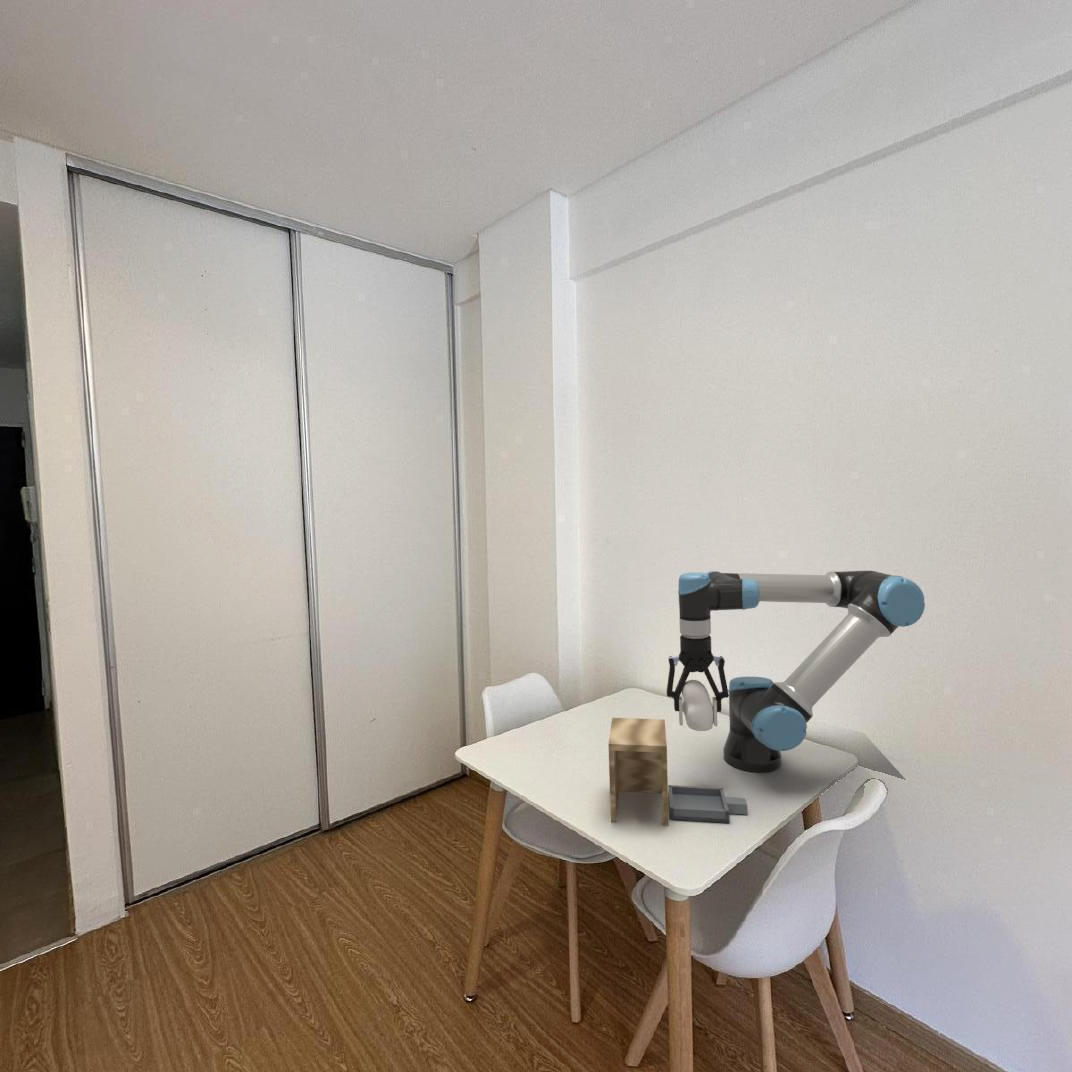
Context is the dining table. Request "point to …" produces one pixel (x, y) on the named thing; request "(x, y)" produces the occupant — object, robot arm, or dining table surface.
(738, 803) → the tray
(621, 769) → the box
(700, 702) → the figurine
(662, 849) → the dining table surface
